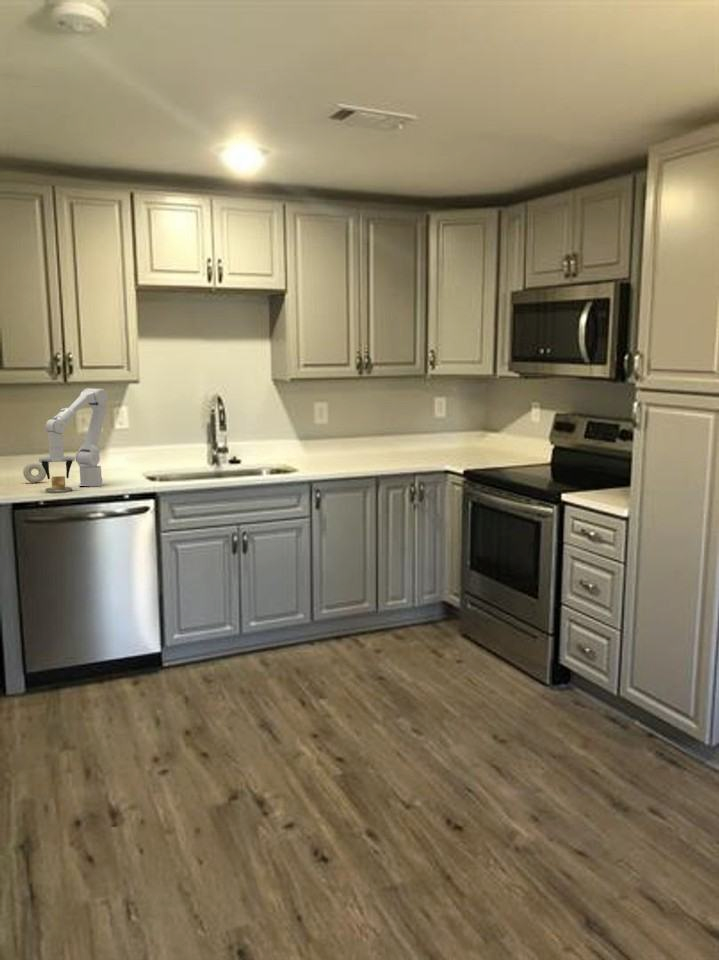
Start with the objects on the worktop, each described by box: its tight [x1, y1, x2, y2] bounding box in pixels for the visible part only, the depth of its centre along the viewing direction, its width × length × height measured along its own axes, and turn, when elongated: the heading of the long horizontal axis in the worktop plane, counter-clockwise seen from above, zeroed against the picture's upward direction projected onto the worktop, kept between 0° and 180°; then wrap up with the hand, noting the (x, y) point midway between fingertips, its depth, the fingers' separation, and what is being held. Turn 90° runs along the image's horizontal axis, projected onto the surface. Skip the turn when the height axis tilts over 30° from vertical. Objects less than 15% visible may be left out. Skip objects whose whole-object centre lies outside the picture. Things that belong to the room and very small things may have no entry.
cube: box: [50, 475, 66, 490], centre depth 345 cm, size 5×5×5 cm
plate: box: [44, 486, 73, 494], centre depth 346 cm, size 11×11×1 cm
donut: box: [22, 461, 47, 484], centre depth 366 cm, size 10×4×10 cm, turn 108°
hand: (58, 478), depth 345 cm, fingers open, 7 cm apart
